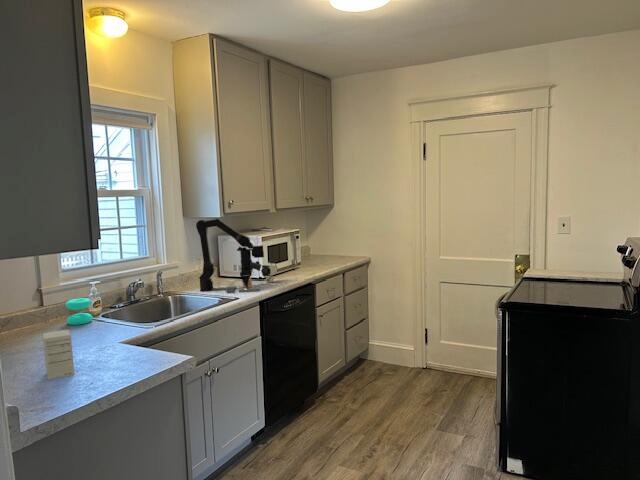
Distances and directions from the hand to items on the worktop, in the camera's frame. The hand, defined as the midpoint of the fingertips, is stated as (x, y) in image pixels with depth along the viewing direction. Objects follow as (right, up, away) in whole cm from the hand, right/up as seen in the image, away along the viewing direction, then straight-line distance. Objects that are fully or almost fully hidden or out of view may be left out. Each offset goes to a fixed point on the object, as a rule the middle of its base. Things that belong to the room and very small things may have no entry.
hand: (247, 285), depth 270 cm
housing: (0, -2, 0) cm, 2 cm away
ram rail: (-8, -2, -6) cm, 10 cm away
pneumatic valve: (+12, 0, +14) cm, 18 cm away
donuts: (-63, -10, -64) cm, 90 cm away
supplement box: (-38, -15, -125) cm, 132 cm away
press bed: (+2, -2, -8) cm, 8 cm away
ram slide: (-9, -1, -1) cm, 9 cm away
